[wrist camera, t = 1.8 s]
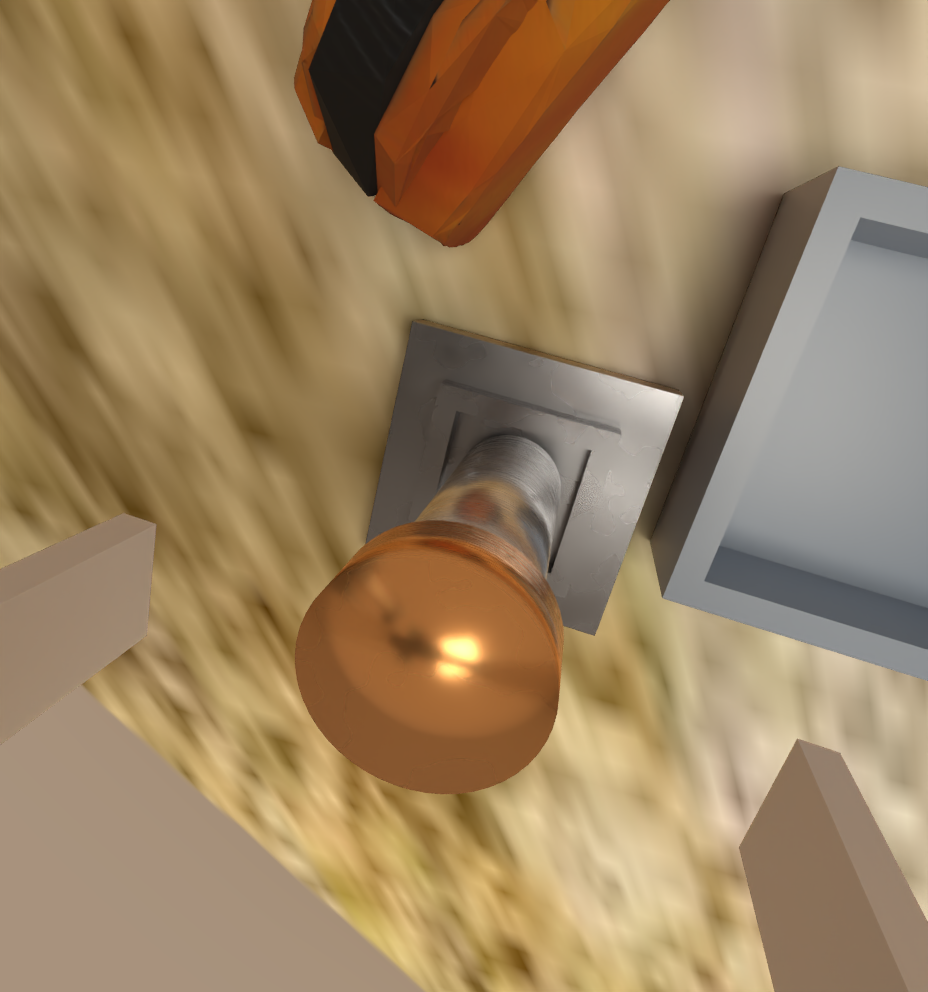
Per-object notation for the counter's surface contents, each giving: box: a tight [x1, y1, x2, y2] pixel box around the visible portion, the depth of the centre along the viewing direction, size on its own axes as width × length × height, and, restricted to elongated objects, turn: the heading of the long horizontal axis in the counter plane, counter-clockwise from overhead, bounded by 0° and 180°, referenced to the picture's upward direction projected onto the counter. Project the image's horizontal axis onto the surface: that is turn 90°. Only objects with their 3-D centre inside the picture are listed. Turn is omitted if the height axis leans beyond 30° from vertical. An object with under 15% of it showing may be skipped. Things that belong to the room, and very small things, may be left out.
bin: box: [650, 166, 928, 681], centre depth 20 cm, size 13×13×5 cm
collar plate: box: [366, 319, 684, 636], centre depth 25 cm, size 10×10×2 cm
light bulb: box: [295, 435, 564, 794], centre depth 18 cm, size 5×5×13 cm
